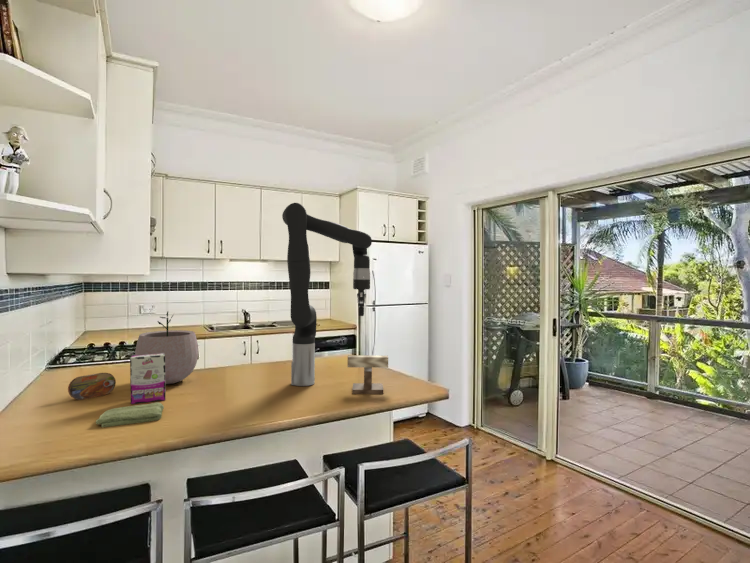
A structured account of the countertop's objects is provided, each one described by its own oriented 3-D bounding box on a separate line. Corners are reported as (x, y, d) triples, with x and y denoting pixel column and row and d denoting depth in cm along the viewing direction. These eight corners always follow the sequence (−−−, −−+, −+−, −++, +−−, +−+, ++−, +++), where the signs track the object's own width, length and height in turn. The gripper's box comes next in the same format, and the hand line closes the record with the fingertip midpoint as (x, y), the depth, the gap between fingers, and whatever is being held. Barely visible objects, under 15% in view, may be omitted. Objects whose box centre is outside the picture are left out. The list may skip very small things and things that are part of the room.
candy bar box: (165, 397, 159) (165, 352, 159) (165, 400, 155) (165, 355, 154) (130, 400, 154) (130, 355, 154) (129, 404, 149) (130, 357, 149)
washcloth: (103, 416, 138) (102, 406, 138) (164, 410, 145) (164, 400, 145) (94, 430, 126) (94, 419, 126) (161, 422, 133) (161, 411, 133)
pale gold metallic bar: (387, 365, 173) (387, 355, 173) (388, 367, 169) (388, 357, 169) (347, 365, 173) (348, 355, 173) (347, 367, 169) (347, 357, 169)
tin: (70, 402, 152) (70, 378, 152) (66, 400, 154) (66, 377, 154) (116, 393, 164) (116, 371, 164) (112, 391, 166) (112, 370, 166)
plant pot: (127, 382, 181) (127, 310, 180) (186, 373, 197) (186, 308, 197) (145, 393, 163) (145, 314, 163) (207, 383, 180) (207, 311, 179)
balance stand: (352, 393, 166) (352, 369, 166) (353, 386, 176) (353, 363, 176) (383, 393, 166) (383, 369, 166) (382, 387, 176) (382, 363, 176)
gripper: (370, 278, 183) (369, 316, 183) (370, 278, 198) (369, 313, 198) (352, 278, 183) (352, 316, 183) (353, 278, 197) (353, 313, 198)
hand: (361, 315), depth 190 cm, fingers open, 8 cm apart
